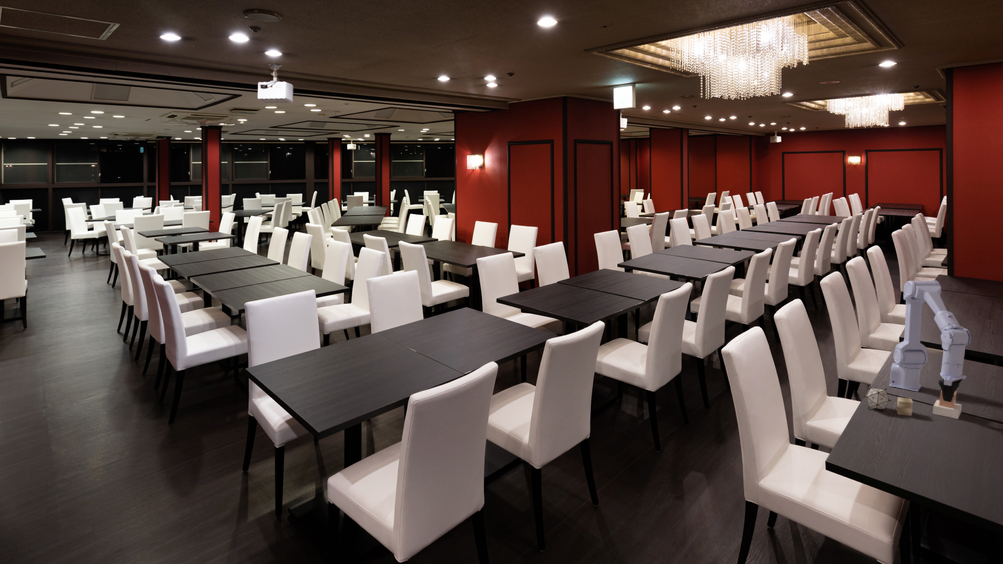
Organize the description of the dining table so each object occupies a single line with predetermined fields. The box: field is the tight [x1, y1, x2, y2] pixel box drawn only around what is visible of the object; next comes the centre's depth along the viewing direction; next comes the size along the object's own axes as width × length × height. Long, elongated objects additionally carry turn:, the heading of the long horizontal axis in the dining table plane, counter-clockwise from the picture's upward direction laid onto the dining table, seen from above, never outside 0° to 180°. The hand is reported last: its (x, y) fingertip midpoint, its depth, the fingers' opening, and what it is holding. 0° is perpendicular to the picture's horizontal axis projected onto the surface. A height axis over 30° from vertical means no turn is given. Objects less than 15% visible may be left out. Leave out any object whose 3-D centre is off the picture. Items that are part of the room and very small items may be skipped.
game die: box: [863, 385, 893, 412], centre depth 203 cm, size 9×8×10 cm
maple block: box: [896, 396, 914, 417], centre depth 199 cm, size 4×4×5 cm
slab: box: [932, 399, 963, 420], centre depth 198 cm, size 7×7×3 cm
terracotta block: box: [939, 390, 958, 408], centre depth 197 cm, size 4×4×5 cm
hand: (948, 398), depth 197 cm, fingers open, 5 cm apart
